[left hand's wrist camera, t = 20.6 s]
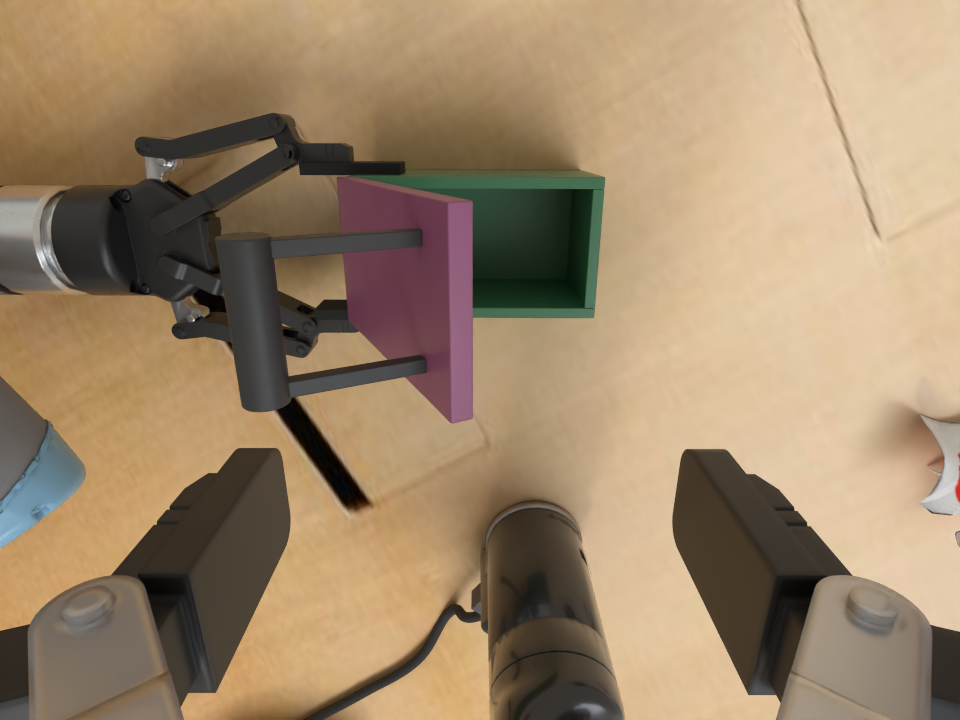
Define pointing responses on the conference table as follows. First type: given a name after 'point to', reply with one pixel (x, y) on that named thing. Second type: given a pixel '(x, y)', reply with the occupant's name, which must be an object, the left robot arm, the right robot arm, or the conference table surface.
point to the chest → (525, 237)
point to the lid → (365, 297)
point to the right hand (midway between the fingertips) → (405, 241)
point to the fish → (946, 470)
